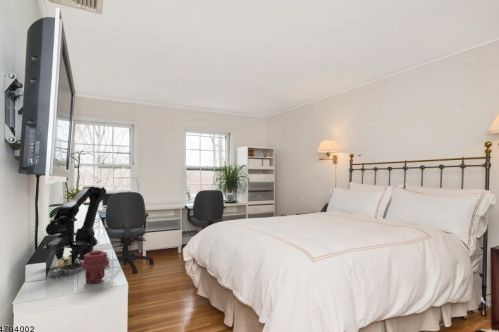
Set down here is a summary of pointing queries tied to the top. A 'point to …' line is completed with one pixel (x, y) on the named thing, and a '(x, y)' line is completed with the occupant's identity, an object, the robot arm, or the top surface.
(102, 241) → the top surface
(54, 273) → the studded rectangular link
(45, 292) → the top surface
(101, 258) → the mechanical component
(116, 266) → the top surface
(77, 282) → the top surface
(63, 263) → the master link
